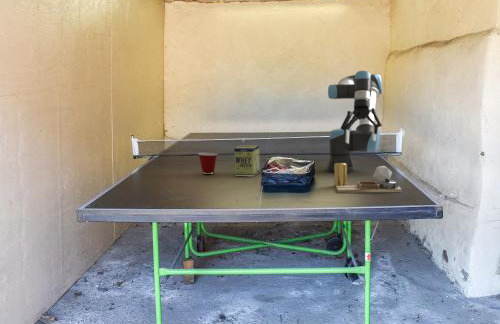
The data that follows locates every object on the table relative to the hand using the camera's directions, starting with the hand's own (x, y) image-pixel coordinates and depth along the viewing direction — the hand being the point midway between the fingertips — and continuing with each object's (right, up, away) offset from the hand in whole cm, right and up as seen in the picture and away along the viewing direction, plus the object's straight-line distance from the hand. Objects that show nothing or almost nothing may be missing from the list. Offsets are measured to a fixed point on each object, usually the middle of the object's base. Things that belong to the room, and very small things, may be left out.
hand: (360, 141), depth 262 cm
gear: (+9, -21, -17) cm, 29 cm away
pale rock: (+11, -20, 0) cm, 23 cm away
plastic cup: (-77, -17, +37) cm, 87 cm away
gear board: (0, -23, -16) cm, 28 cm away
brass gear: (-11, -21, -6) cm, 25 cm away
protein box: (-55, -17, +33) cm, 66 cm away
